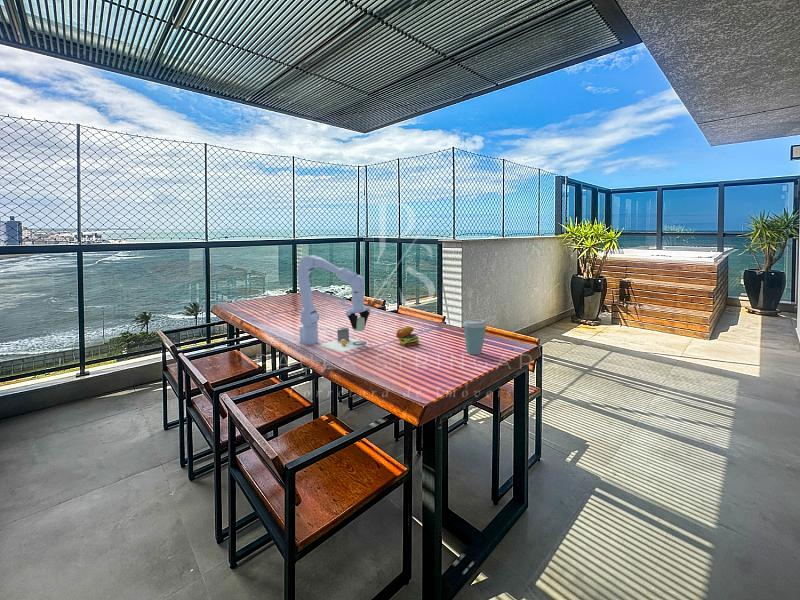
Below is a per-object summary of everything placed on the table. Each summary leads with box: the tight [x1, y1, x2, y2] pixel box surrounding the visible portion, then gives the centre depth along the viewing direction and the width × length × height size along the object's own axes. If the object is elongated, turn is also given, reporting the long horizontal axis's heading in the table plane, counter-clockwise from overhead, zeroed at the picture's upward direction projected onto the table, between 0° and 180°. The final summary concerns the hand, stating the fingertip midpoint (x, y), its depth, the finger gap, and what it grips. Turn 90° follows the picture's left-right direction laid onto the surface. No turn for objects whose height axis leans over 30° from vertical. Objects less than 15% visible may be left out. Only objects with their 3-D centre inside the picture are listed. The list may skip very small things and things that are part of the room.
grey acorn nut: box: [336, 327, 350, 342], centre depth 193 cm, size 6×6×6 cm
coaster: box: [353, 340, 368, 346], centre depth 187 cm, size 7×7×1 cm
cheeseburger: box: [395, 325, 421, 347], centre depth 186 cm, size 10×11×10 cm
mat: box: [317, 337, 371, 353], centre depth 186 cm, size 18×19×1 cm
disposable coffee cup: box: [462, 319, 487, 356], centre depth 170 cm, size 11×11×15 cm
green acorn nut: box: [352, 316, 366, 332], centre depth 185 cm, size 6×6×6 cm
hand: (359, 327), depth 185 cm, fingers closed on green acorn nut, 6 cm apart
